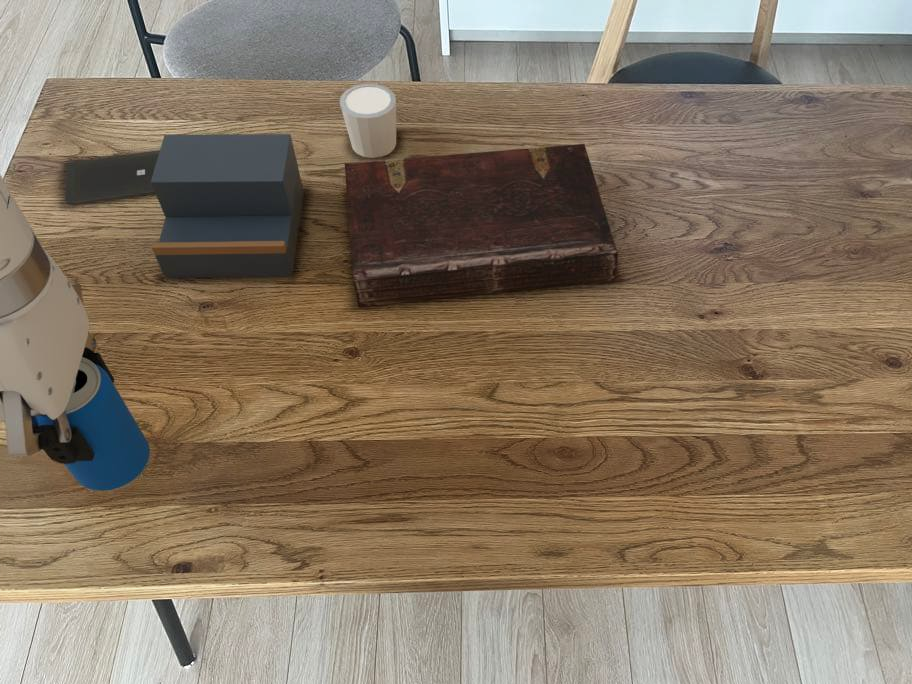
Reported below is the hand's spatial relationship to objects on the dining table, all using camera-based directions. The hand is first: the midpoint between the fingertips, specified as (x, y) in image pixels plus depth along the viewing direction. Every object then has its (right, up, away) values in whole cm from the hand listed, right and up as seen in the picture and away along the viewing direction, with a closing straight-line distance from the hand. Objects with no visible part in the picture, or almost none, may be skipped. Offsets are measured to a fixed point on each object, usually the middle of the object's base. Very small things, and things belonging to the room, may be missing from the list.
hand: (84, 419), depth 71 cm
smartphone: (-13, +29, +36) cm, 48 cm away
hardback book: (+30, +21, +32) cm, 49 cm away
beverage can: (0, -4, +6) cm, 7 cm away
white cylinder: (+16, +34, +41) cm, 56 cm away
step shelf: (+2, +21, +31) cm, 37 cm away
